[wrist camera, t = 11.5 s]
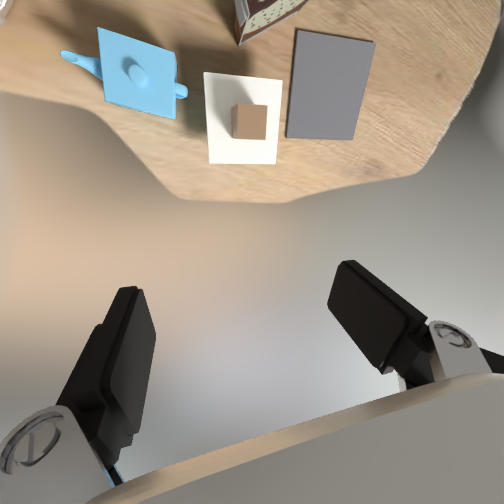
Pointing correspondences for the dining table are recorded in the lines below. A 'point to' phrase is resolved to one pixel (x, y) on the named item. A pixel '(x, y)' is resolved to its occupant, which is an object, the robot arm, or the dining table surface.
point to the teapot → (134, 74)
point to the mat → (327, 86)
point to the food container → (261, 16)
